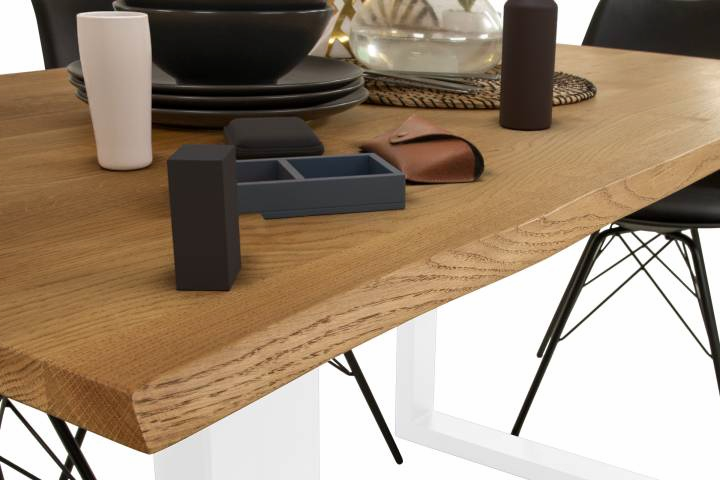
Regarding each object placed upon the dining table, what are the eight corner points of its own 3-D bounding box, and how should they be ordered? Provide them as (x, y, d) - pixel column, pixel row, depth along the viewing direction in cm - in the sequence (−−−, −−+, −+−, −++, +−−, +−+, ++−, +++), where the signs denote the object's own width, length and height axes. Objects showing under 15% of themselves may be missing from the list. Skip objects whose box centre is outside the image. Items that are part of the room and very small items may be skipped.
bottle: (555, 123, 132) (564, -38, 125) (547, 132, 126) (556, -37, 119) (504, 119, 133) (511, -40, 127) (493, 128, 127) (500, -38, 120)
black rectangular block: (176, 290, 68) (166, 159, 65) (191, 267, 73) (183, 144, 70) (229, 290, 68) (222, 160, 65) (241, 267, 73) (235, 144, 70)
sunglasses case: (351, 145, 113) (380, 92, 112) (402, 173, 116) (430, 122, 115) (406, 181, 97) (440, 120, 96) (462, 212, 101) (496, 154, 100)
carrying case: (214, 142, 115) (223, 171, 102) (212, 115, 114) (221, 141, 101) (307, 139, 118) (327, 167, 105) (306, 113, 117) (327, 138, 104)
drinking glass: (80, 172, 100) (64, 15, 95) (105, 158, 106) (90, 10, 101) (148, 174, 100) (135, 17, 95) (168, 159, 106) (157, 12, 101)
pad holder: (405, 208, 90) (405, 174, 89) (194, 224, 83) (192, 187, 82) (374, 184, 98) (374, 152, 97) (180, 196, 92) (178, 163, 91)
